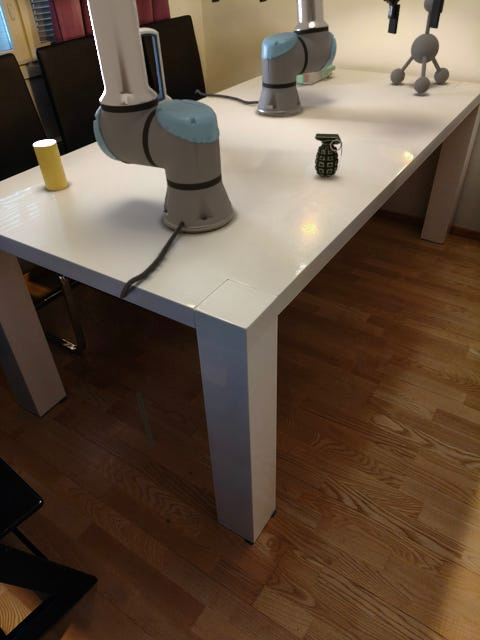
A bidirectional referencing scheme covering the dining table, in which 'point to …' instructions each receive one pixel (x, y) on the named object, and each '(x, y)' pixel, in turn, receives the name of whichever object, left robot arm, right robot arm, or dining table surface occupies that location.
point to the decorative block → (315, 76)
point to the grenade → (327, 155)
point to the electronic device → (157, 62)
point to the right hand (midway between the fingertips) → (412, 30)
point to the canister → (50, 164)
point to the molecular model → (423, 57)
